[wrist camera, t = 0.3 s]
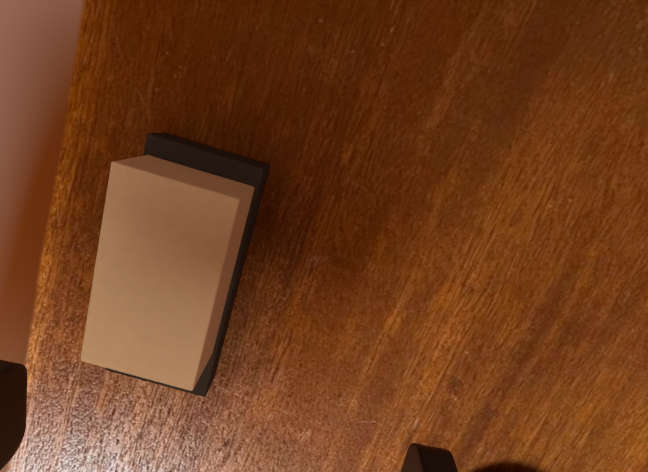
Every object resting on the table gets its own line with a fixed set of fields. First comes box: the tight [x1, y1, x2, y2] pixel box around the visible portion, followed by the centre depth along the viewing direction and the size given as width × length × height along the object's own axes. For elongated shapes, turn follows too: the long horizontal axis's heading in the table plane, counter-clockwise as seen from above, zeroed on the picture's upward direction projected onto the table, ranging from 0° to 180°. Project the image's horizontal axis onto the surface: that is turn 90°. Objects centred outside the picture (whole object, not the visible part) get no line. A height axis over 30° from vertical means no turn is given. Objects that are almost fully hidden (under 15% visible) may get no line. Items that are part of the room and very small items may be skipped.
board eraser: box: [81, 133, 269, 397], centre depth 22 cm, size 14×6×6 cm, turn 163°
